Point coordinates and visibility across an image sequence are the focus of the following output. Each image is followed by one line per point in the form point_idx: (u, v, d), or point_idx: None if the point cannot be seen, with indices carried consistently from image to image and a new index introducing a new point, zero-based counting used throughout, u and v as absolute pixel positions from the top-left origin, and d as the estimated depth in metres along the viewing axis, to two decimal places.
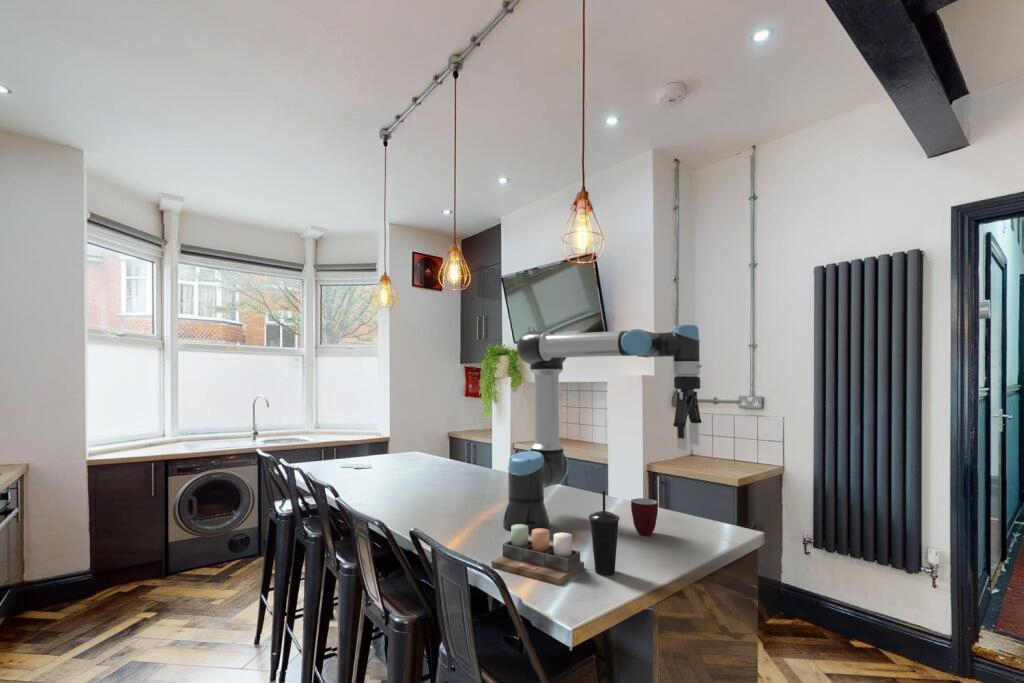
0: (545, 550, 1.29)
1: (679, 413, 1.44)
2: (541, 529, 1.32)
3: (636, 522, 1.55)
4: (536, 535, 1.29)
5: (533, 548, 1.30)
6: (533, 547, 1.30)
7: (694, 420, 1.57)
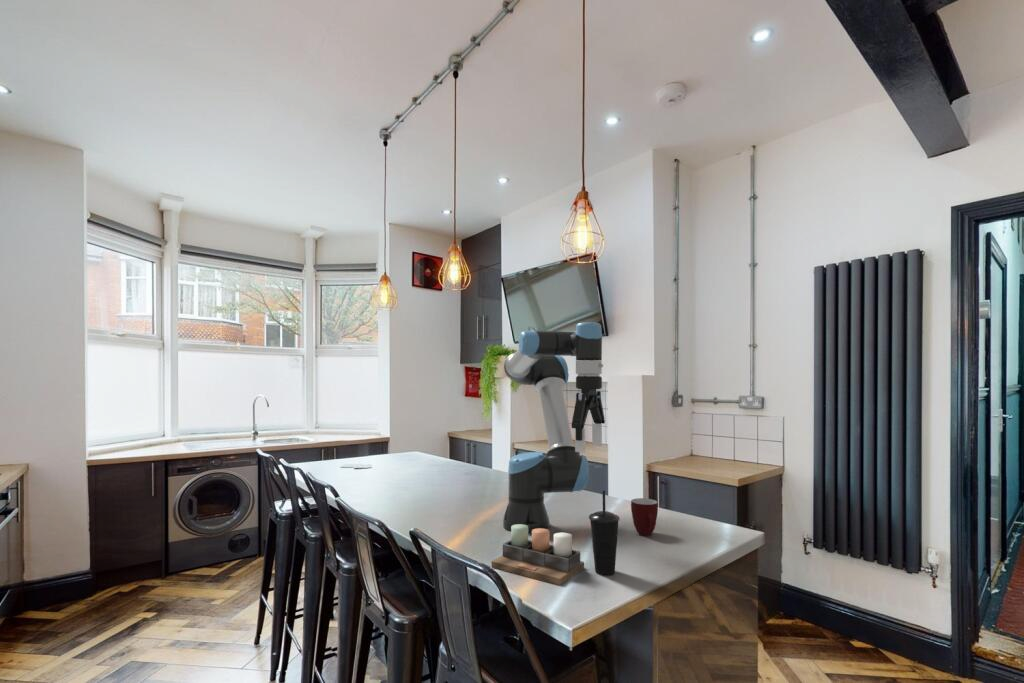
0: (545, 550, 1.29)
1: (577, 414, 1.39)
2: (541, 529, 1.32)
3: (636, 522, 1.55)
4: (536, 535, 1.29)
5: (533, 548, 1.30)
6: (533, 547, 1.30)
7: (597, 420, 1.52)
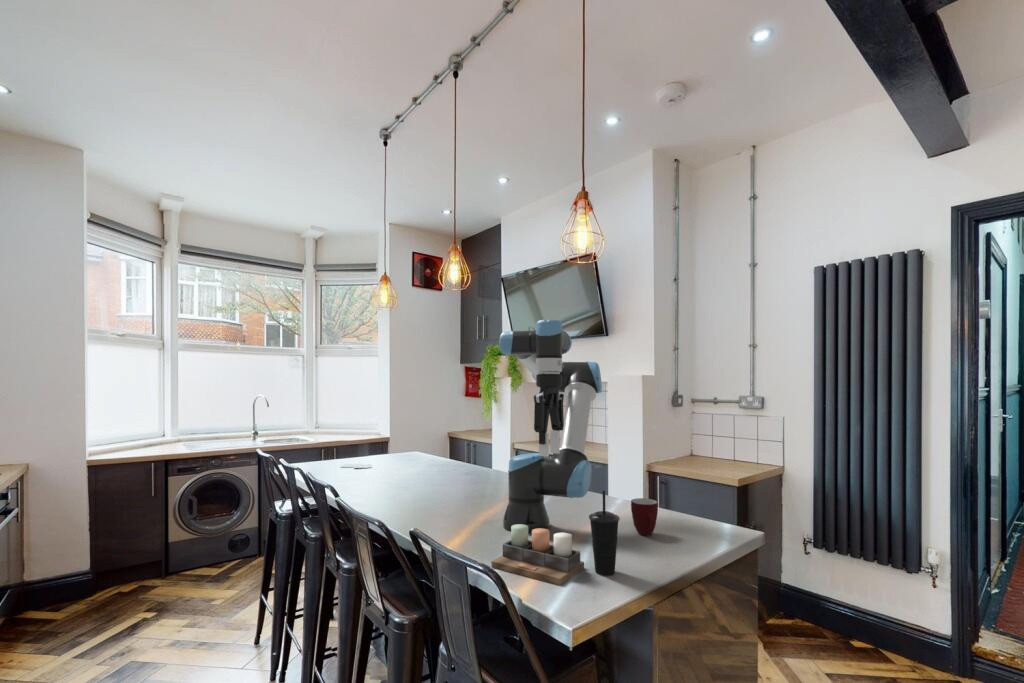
0: (545, 550, 1.29)
1: (538, 418, 1.39)
2: (541, 529, 1.32)
3: (636, 522, 1.55)
4: (536, 535, 1.29)
5: (533, 548, 1.30)
6: (533, 547, 1.30)
7: (555, 427, 1.47)
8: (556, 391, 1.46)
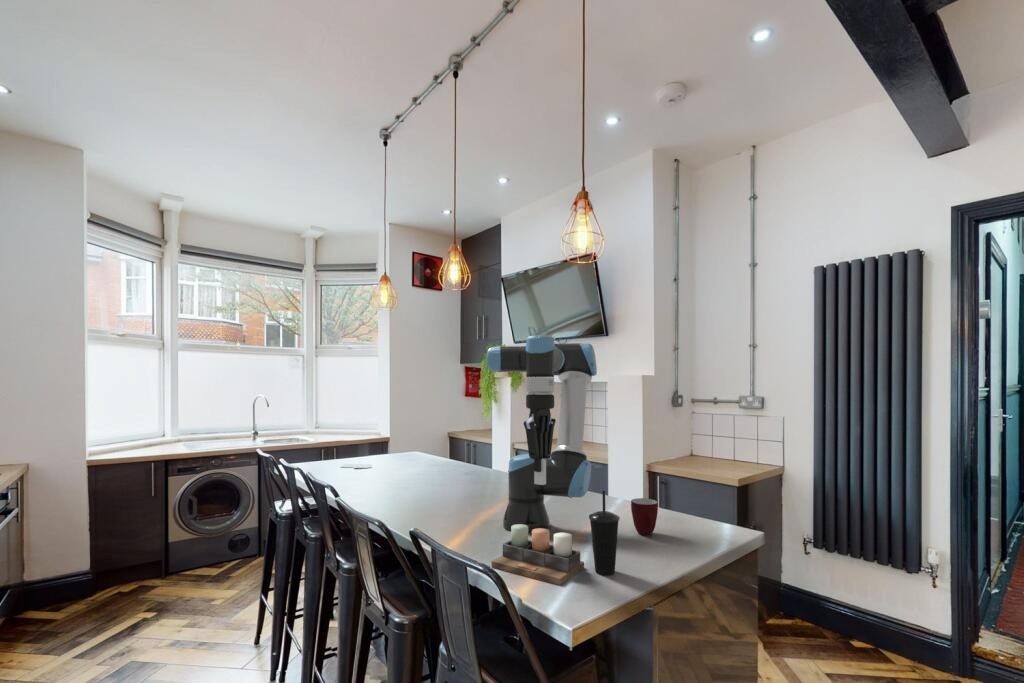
0: (545, 550, 1.29)
1: (531, 445, 1.29)
2: (541, 529, 1.32)
3: (636, 522, 1.55)
4: (536, 535, 1.29)
5: (533, 548, 1.30)
6: (533, 547, 1.30)
7: None
8: (548, 412, 1.34)
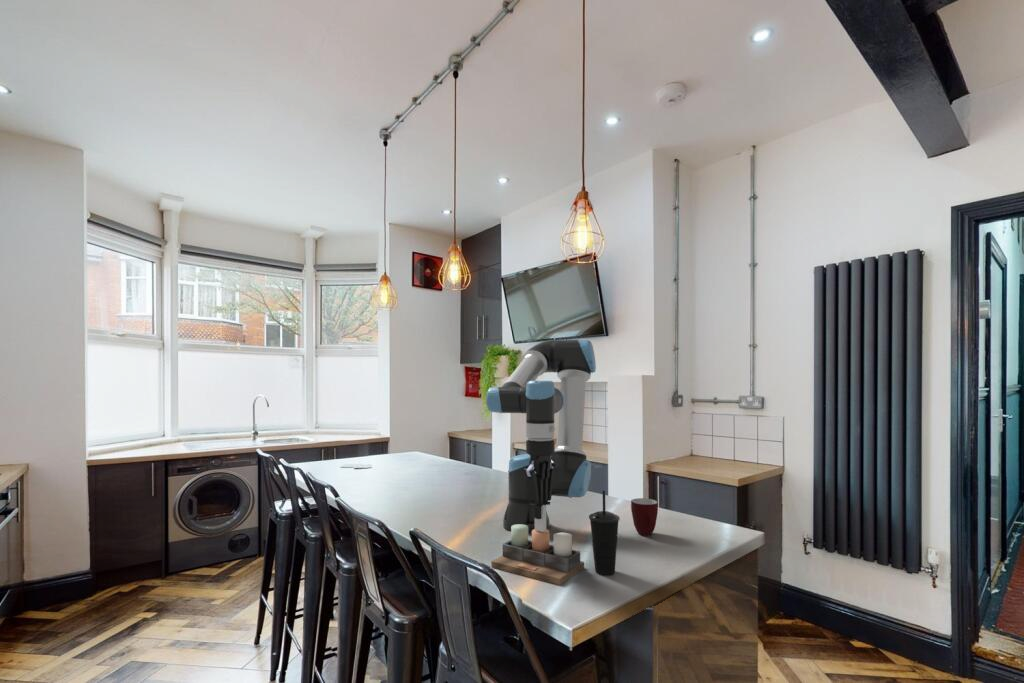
0: (545, 550, 1.29)
1: (531, 493, 1.28)
2: None
3: (636, 522, 1.55)
4: (536, 536, 1.29)
5: (533, 548, 1.30)
6: (533, 547, 1.30)
7: None
8: (548, 457, 1.34)
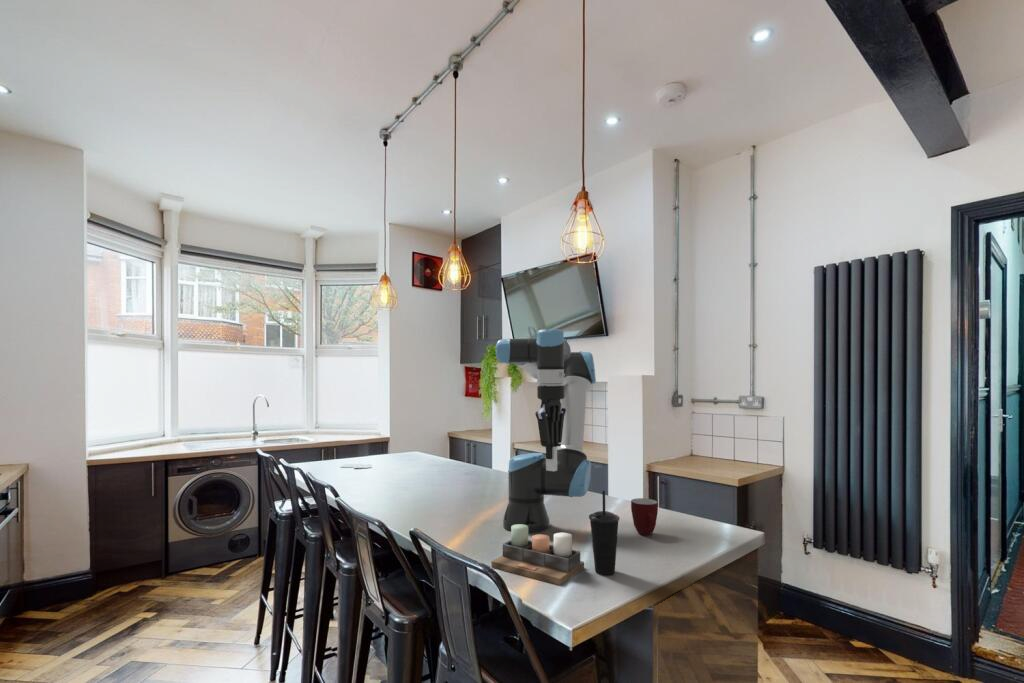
0: None
1: (543, 434, 1.35)
2: (541, 535, 1.32)
3: (636, 522, 1.55)
4: (536, 542, 1.29)
5: None
6: None
7: None
8: (558, 402, 1.41)
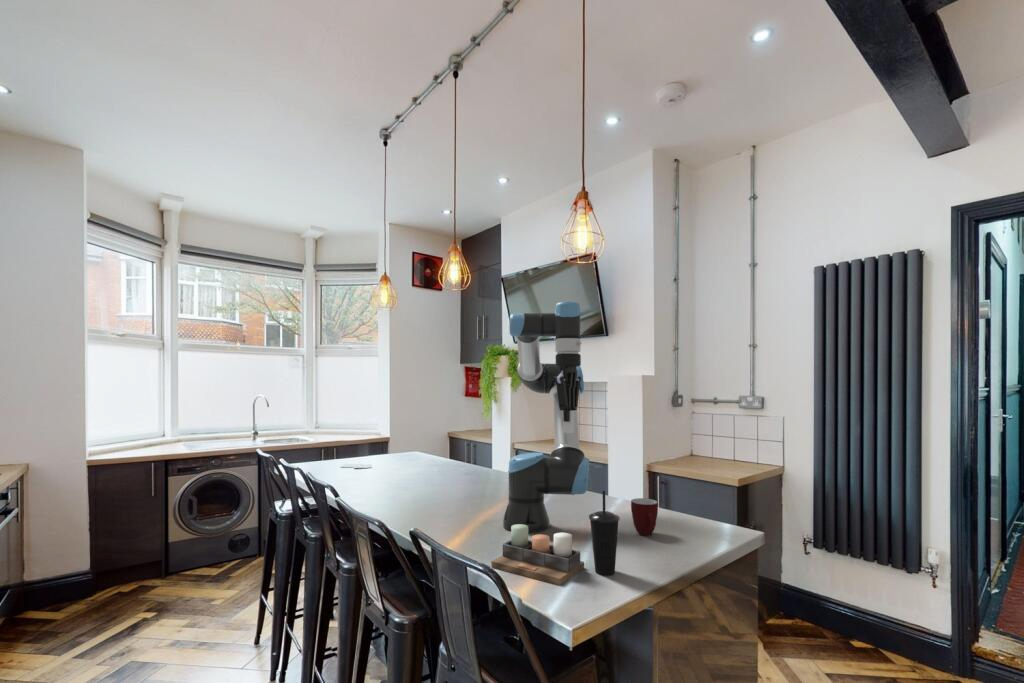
0: None
1: (561, 398, 1.46)
2: (541, 535, 1.32)
3: (636, 522, 1.55)
4: (536, 542, 1.29)
5: None
6: None
7: None
8: (575, 370, 1.52)
